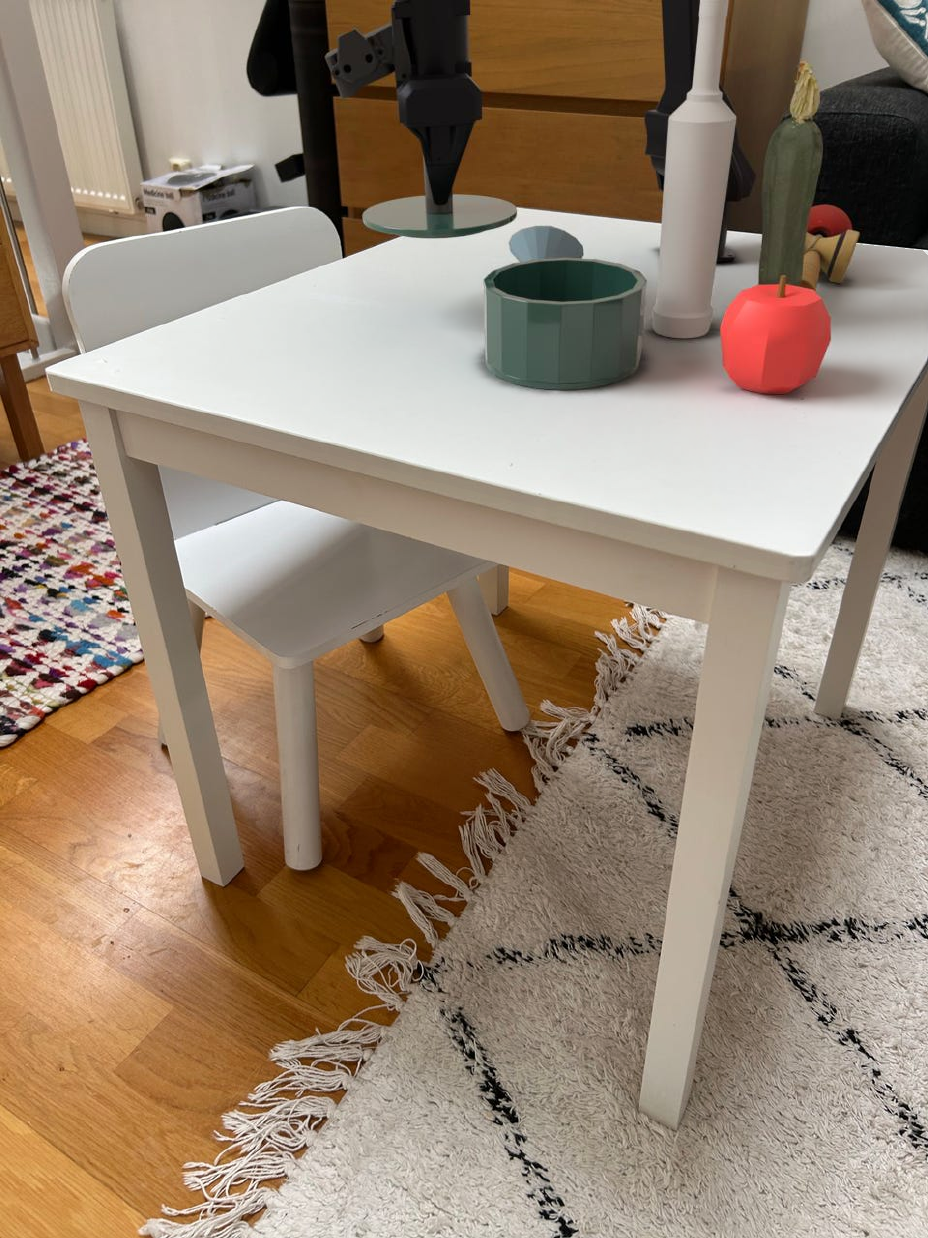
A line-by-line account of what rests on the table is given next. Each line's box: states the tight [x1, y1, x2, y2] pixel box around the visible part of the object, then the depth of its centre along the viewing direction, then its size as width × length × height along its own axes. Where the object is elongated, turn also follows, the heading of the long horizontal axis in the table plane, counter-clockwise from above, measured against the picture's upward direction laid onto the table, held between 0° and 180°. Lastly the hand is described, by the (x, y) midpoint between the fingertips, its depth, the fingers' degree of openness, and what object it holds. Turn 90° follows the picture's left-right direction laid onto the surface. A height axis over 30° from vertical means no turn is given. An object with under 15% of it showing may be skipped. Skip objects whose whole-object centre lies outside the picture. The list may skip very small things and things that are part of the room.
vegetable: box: [757, 59, 824, 287], centre depth 78 cm, size 4×4×20 cm
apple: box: [719, 275, 832, 395], centre depth 71 cm, size 8×8×8 cm
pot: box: [483, 258, 648, 391], centre depth 76 cm, size 12×12×6 cm
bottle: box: [651, 0, 737, 339], centre depth 76 cm, size 5×5×25 cm
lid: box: [361, 155, 518, 239], centre depth 82 cm, size 13×13×6 cm
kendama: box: [800, 204, 860, 293], centre depth 92 cm, size 8×6×18 cm
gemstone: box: [508, 225, 585, 263], centre depth 96 cm, size 8×8×5 cm
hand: (439, 200), depth 83 cm, fingers closed on lid, 2 cm apart
